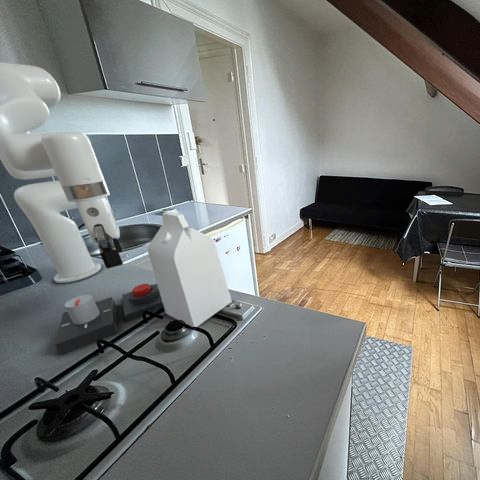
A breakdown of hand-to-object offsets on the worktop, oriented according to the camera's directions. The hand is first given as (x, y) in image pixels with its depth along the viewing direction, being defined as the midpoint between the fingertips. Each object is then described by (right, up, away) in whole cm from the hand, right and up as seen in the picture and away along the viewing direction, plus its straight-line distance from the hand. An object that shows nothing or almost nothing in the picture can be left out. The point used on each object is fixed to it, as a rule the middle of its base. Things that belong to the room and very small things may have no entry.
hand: (115, 259), depth 65 cm
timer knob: (-5, -14, -2) cm, 15 cm away
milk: (+19, -13, +4) cm, 24 cm away
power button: (+2, -10, +7) cm, 12 cm away
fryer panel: (-5, -17, -1) cm, 18 cm away
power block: (+3, -13, +8) cm, 15 cm away
